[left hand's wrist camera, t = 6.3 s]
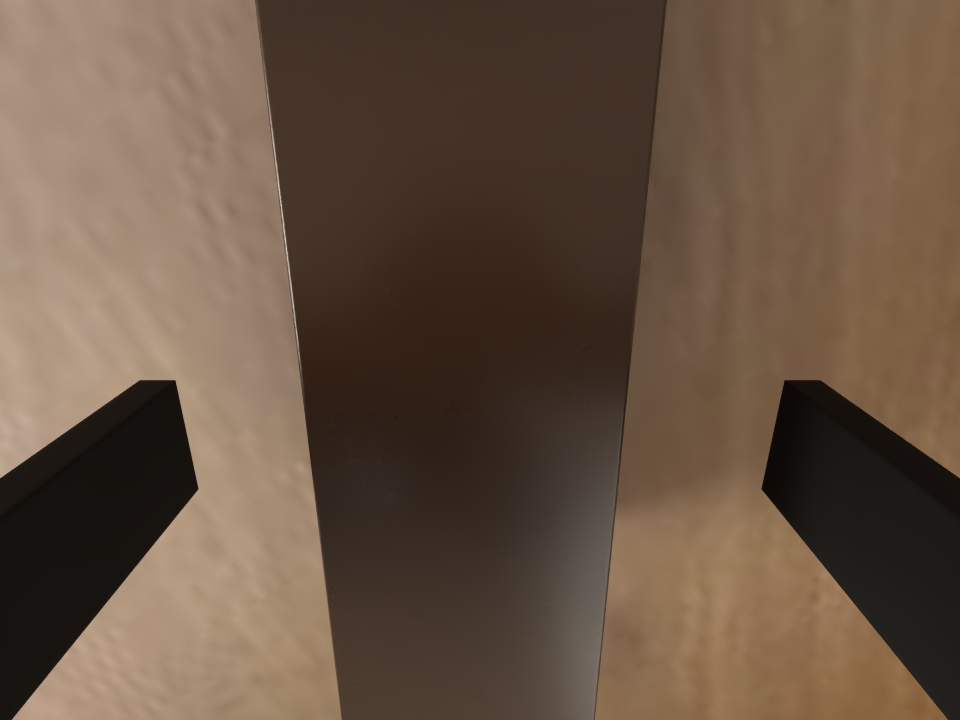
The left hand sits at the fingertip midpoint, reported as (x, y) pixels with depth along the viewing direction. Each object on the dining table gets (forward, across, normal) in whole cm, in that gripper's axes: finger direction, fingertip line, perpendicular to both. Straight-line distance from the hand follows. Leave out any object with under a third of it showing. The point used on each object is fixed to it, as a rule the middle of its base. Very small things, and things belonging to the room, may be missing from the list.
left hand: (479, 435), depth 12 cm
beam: (+4, 0, -10) cm, 10 cm away
